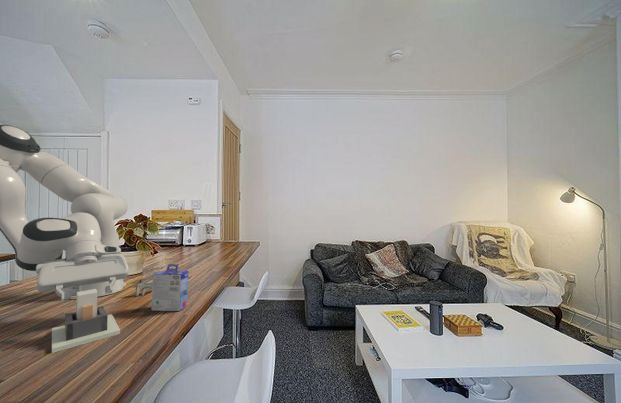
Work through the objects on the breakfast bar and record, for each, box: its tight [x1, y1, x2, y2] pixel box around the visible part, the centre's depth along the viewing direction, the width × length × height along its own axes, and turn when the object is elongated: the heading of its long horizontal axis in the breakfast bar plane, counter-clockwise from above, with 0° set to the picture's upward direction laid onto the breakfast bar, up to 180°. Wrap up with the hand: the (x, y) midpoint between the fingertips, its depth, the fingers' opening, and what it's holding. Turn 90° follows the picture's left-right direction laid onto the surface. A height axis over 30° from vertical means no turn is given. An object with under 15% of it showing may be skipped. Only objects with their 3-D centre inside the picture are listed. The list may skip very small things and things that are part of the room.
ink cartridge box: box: [150, 263, 189, 312], centre depth 86 cm, size 10×6×14 cm, turn 89°
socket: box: [51, 305, 121, 354], centre depth 69 cm, size 14×13×5 cm
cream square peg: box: [75, 289, 98, 321], centre depth 69 cm, size 5×4×10 cm
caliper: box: [135, 279, 153, 297], centre depth 105 cm, size 20×1×6 cm, turn 146°
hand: (88, 296), depth 72 cm, fingers open, 8 cm apart
